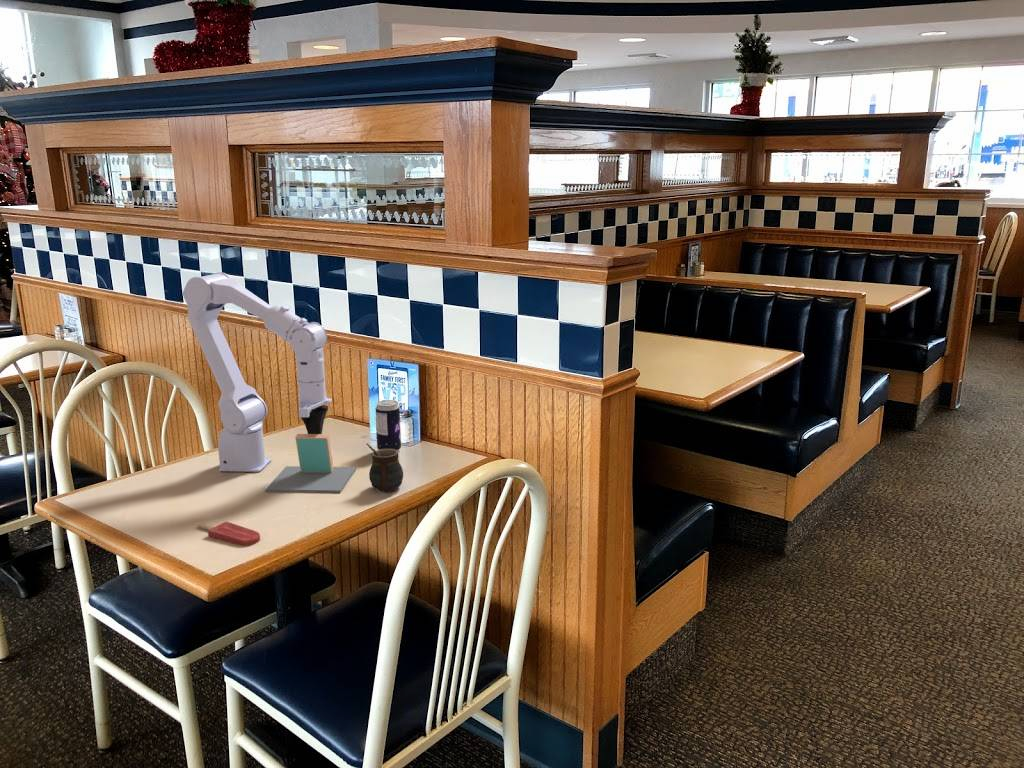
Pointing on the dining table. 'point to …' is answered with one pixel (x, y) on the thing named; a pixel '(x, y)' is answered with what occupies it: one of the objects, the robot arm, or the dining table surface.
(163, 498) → the dining table surface
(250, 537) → the popsicle
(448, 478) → the dining table surface
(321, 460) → the tile
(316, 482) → the slate pad
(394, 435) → the beverage can
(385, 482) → the mate gourd
